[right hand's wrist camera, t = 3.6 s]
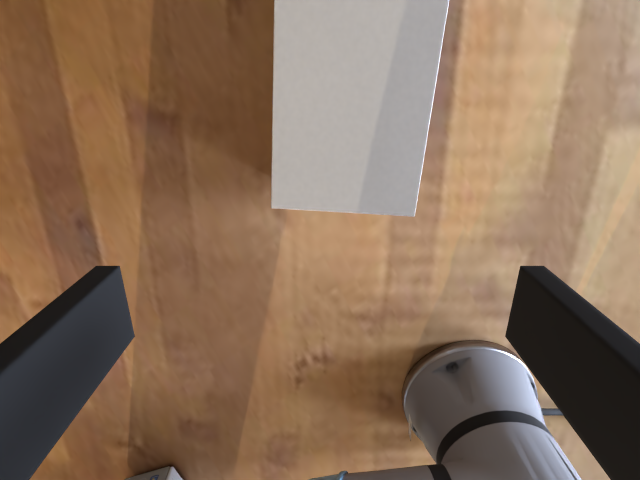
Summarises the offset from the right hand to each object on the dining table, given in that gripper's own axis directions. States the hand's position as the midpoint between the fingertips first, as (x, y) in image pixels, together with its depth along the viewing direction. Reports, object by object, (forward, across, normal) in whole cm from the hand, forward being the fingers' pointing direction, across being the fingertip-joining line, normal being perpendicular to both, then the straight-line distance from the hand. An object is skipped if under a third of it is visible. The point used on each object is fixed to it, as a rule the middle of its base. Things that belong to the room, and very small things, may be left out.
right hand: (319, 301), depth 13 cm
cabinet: (+26, -2, -7) cm, 27 cm away
